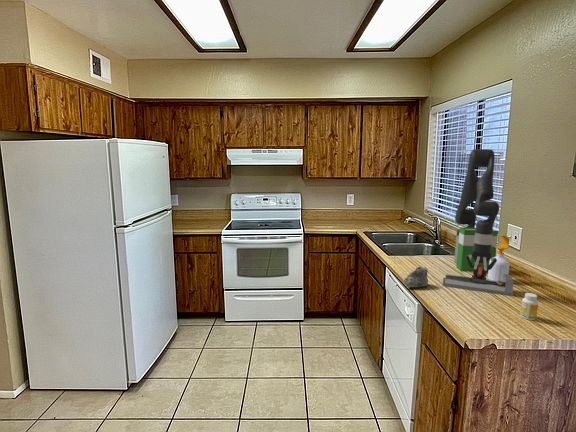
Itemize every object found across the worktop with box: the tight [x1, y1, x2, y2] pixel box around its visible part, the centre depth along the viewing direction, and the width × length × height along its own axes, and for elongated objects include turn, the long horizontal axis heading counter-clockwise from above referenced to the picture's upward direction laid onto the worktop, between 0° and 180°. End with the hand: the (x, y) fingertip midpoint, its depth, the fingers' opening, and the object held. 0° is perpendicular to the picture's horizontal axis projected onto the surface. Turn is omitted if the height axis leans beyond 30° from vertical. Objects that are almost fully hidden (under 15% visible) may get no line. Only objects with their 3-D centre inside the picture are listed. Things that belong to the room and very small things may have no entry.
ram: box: [471, 265, 488, 284], centre depth 170 cm, size 6×6×10 cm
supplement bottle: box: [519, 292, 539, 321], centre depth 139 cm, size 5×5×10 cm
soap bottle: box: [487, 233, 511, 282], centre depth 181 cm, size 9×9×25 cm
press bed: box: [442, 274, 514, 297], centre depth 171 cm, size 9×30×8 cm, turn 65°
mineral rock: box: [404, 266, 429, 288], centre depth 173 cm, size 13×11×10 cm
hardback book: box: [455, 226, 499, 273], centre depth 198 cm, size 18×7×24 cm, turn 82°
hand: (479, 276), depth 170 cm, fingers closed on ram, 3 cm apart
